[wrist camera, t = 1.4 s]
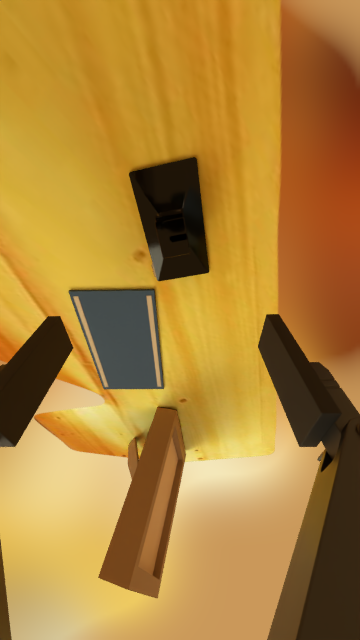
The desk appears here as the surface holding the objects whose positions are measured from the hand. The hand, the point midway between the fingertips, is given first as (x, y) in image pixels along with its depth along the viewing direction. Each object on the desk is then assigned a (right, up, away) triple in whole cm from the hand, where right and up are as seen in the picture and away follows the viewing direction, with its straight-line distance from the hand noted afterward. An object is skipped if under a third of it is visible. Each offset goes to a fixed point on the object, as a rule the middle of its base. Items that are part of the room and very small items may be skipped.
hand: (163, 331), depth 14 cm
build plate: (0, +12, +11) cm, 16 cm away
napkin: (-8, -4, +23) cm, 24 cm away
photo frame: (-6, -27, +40) cm, 48 cm away
